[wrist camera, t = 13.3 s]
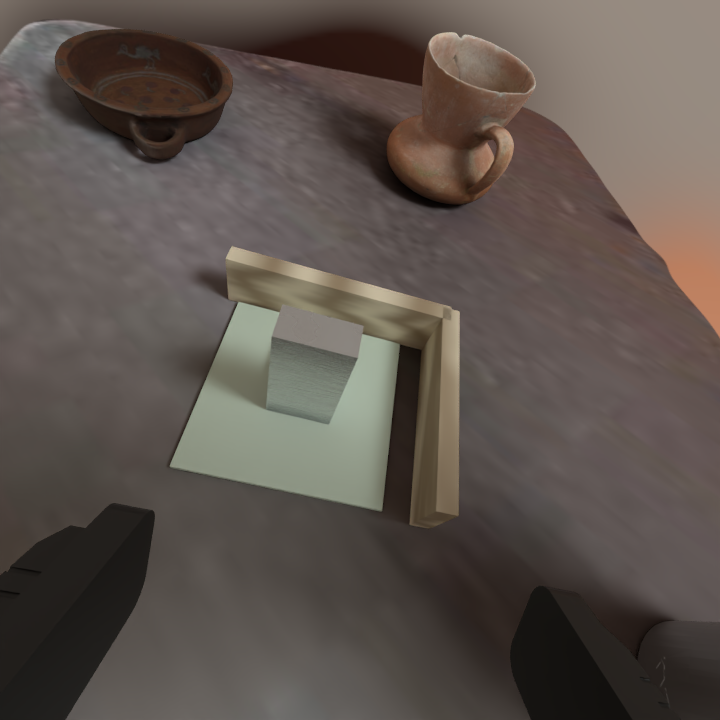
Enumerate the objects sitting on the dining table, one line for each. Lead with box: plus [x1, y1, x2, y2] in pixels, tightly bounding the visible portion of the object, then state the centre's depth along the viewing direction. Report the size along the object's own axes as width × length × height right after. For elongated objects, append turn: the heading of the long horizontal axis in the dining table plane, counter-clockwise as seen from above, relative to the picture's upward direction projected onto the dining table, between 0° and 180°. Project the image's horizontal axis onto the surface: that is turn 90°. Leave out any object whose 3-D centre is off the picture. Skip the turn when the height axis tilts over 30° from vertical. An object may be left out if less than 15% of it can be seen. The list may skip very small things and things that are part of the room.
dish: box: [55, 29, 233, 159], centre depth 45 cm, size 18×22×5 cm
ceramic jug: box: [387, 32, 536, 204], centre depth 47 cm, size 18×14×14 cm
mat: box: [170, 302, 400, 512], centre depth 32 cm, size 15×15×1 cm
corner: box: [226, 247, 459, 529], centre depth 30 cm, size 20×17×5 cm
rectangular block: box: [266, 304, 364, 424], centre depth 28 cm, size 6×5×10 cm
